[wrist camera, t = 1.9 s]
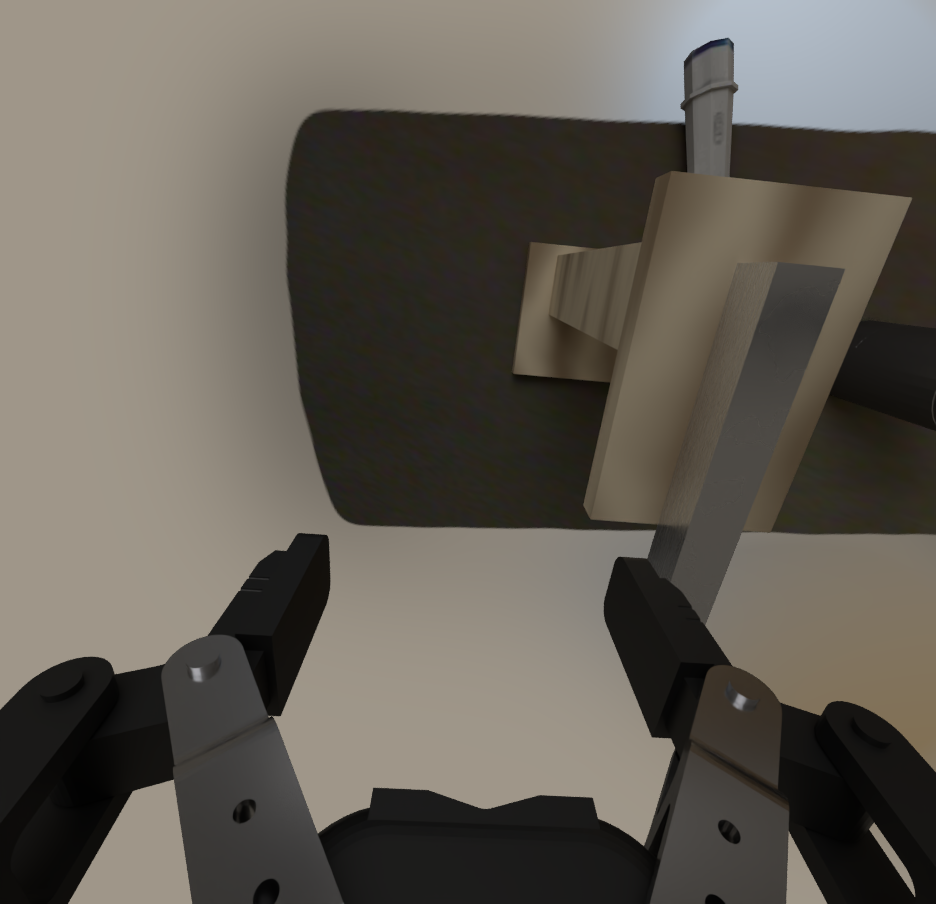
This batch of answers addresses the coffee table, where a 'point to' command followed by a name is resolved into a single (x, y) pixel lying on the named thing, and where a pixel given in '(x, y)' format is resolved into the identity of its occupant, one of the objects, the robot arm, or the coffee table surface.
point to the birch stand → (693, 320)
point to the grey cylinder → (709, 107)
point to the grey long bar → (738, 419)
